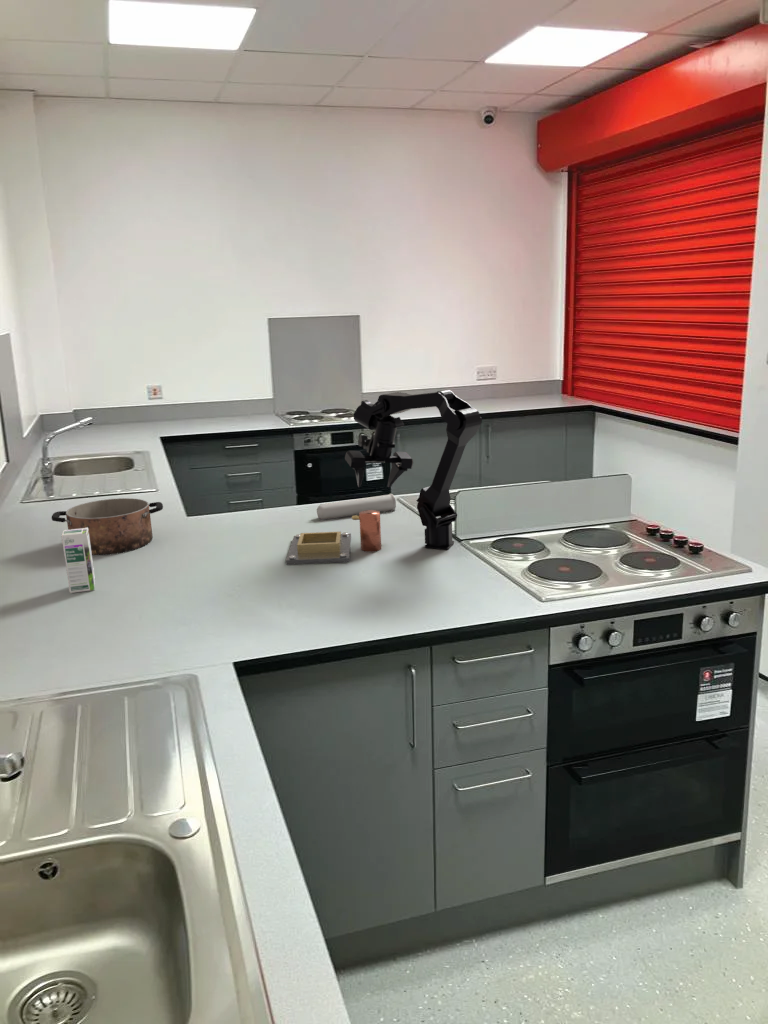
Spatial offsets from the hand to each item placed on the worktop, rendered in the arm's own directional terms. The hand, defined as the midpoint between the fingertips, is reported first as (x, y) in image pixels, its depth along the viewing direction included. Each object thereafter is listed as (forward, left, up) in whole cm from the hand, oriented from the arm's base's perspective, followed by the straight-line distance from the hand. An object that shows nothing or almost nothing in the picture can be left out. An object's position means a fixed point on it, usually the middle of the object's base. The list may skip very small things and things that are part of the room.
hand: (373, 486), depth 233 cm
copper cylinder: (-4, +17, -13) cm, 22 cm away
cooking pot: (+69, +30, -14) cm, 76 cm away
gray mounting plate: (+8, +21, -13) cm, 26 cm away
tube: (+13, -16, -14) cm, 25 cm away
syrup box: (+51, +63, -13) cm, 82 cm away
